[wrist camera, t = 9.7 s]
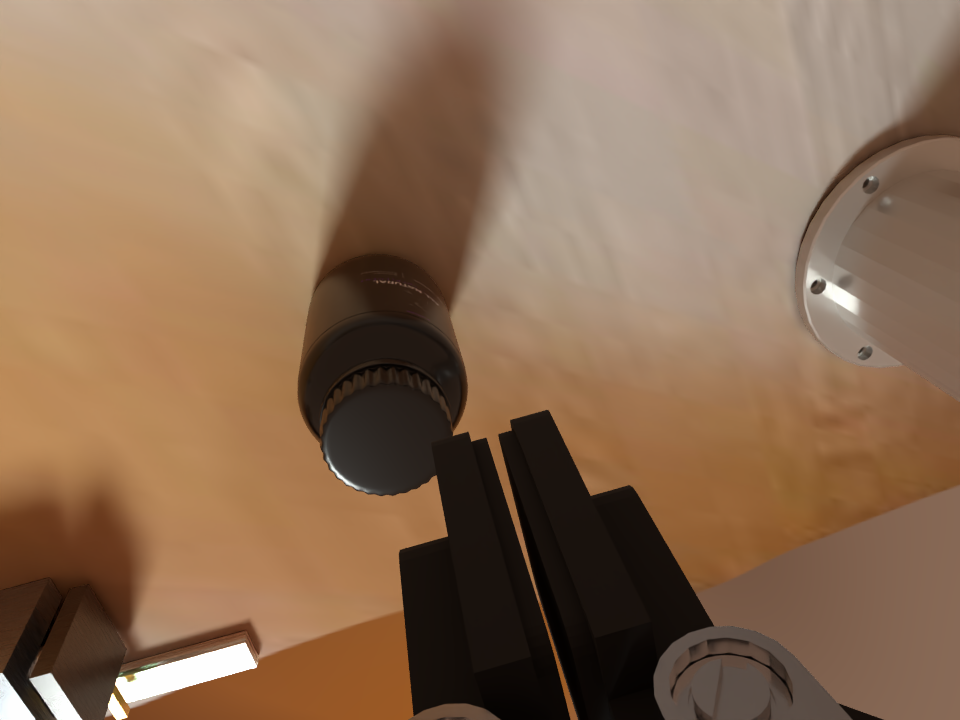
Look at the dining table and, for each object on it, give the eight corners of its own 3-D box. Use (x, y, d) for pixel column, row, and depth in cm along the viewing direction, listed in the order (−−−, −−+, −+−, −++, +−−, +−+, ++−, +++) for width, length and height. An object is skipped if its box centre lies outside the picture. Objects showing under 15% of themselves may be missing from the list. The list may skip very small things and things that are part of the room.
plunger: (88, 584, 41) (50, 672, 36) (150, 688, 45) (123, 782, 39) (-120, 639, 40) (-190, 738, 35) (-40, 741, 44) (-92, 844, 39)
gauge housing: (201, 536, 42) (179, 624, 36) (258, 656, 46) (246, 751, 40) (-161, 633, 41) (-244, 740, 35) (-68, 746, 45) (-128, 858, 39)
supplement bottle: (429, 235, 37) (466, 335, 26) (457, 359, 40) (501, 495, 29) (287, 268, 36) (266, 384, 25) (327, 391, 39) (322, 540, 29)
